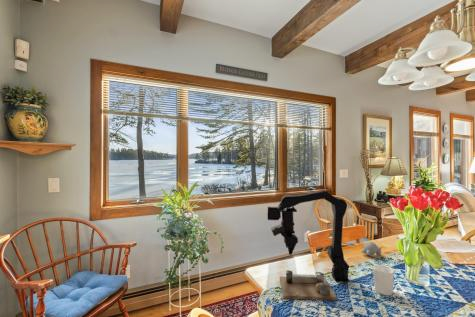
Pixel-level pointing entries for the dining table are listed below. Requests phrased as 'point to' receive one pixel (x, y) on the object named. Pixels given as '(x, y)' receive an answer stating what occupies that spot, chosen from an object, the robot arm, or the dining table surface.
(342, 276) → the robot arm
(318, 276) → the lever
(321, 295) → the base
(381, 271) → the white cup
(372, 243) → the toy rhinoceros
